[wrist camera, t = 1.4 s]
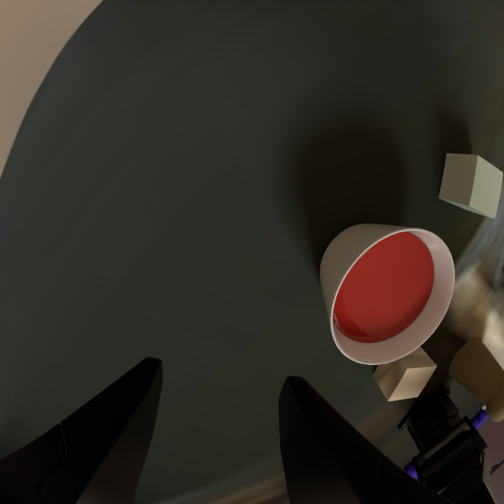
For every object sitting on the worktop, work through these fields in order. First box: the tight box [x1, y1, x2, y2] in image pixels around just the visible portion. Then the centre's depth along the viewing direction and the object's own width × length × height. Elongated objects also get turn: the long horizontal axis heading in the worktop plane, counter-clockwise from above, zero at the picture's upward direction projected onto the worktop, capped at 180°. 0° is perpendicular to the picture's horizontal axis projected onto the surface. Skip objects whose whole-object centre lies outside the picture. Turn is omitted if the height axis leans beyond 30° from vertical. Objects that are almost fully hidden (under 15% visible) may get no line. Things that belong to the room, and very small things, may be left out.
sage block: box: [439, 153, 503, 219], centre depth 17 cm, size 4×4×4 cm
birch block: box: [373, 346, 437, 401], centre depth 22 cm, size 4×4×4 cm
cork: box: [449, 338, 504, 422], centre depth 20 cm, size 6×6×11 cm
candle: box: [320, 223, 455, 365], centre depth 17 cm, size 9×9×6 cm
